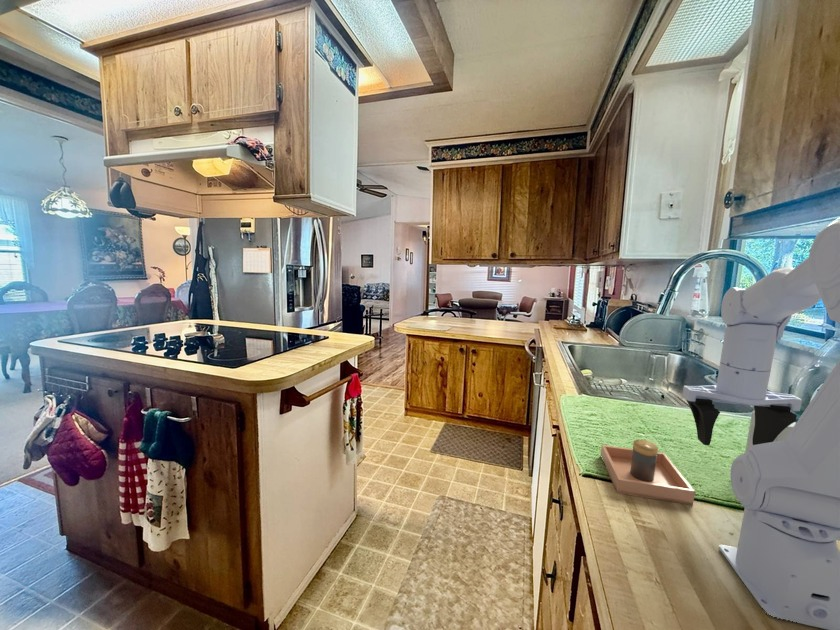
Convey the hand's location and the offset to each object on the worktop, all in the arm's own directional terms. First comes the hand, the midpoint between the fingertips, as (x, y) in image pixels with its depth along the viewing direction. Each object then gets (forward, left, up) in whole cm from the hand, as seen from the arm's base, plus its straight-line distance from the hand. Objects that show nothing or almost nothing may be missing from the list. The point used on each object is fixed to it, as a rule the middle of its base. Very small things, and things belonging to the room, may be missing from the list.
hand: (730, 445), depth 54 cm
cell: (+2, +11, -9) cm, 14 cm away
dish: (+2, +11, -9) cm, 15 cm away
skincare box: (+7, -10, -10) cm, 16 cm away
